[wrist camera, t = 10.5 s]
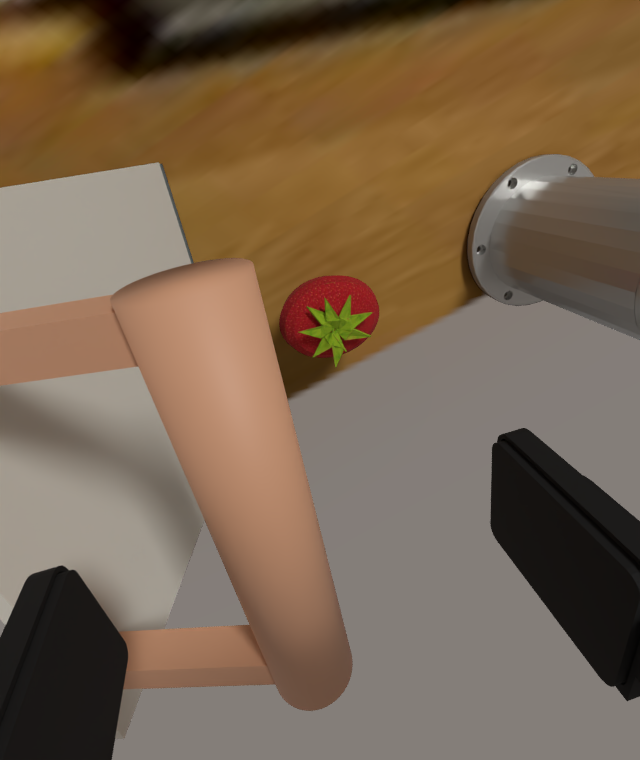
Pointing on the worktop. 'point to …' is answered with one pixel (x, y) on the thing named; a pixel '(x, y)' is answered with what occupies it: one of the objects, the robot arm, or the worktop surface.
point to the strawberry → (329, 316)
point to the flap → (155, 440)
